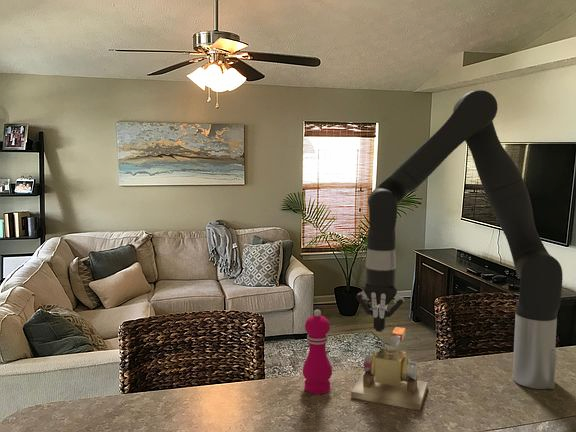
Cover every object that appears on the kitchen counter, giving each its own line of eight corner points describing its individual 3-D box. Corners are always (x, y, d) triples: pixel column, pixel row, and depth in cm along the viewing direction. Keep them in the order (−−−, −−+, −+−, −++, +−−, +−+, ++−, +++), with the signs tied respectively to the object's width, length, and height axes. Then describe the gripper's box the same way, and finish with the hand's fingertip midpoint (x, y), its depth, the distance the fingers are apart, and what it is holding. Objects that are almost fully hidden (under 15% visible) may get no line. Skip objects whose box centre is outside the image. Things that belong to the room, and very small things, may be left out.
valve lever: (405, 334, 130) (405, 328, 130) (395, 354, 117) (395, 346, 117) (394, 333, 131) (395, 326, 131) (383, 352, 119) (383, 345, 118)
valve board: (427, 387, 123) (427, 370, 122) (420, 410, 112) (420, 391, 111) (363, 377, 129) (363, 360, 129) (351, 397, 118) (351, 379, 118)
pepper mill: (332, 382, 126) (332, 305, 124) (331, 395, 119) (332, 314, 117) (303, 381, 127) (303, 305, 125) (301, 394, 120) (301, 313, 117)
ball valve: (417, 377, 121) (418, 350, 120) (413, 388, 115) (414, 360, 114) (368, 369, 125) (369, 343, 125) (362, 380, 119) (362, 353, 119)
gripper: (409, 265, 130) (407, 329, 132) (359, 261, 135) (358, 323, 137) (404, 271, 123) (402, 339, 125) (351, 266, 128) (350, 331, 130)
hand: (379, 330), depth 131 cm, fingers closed
